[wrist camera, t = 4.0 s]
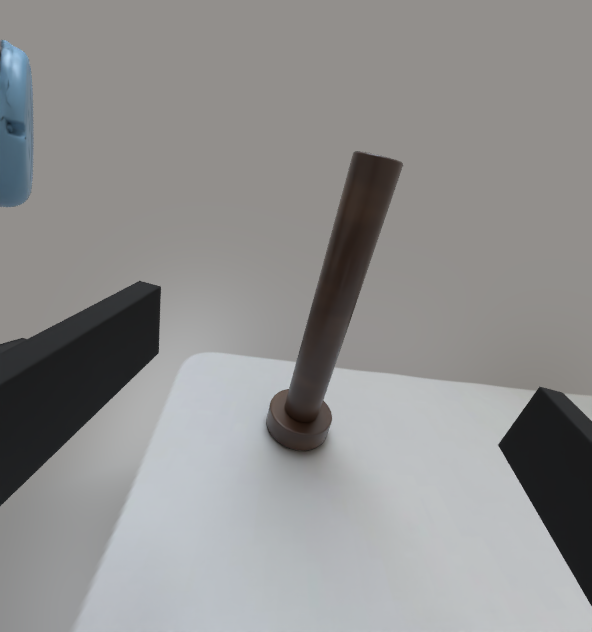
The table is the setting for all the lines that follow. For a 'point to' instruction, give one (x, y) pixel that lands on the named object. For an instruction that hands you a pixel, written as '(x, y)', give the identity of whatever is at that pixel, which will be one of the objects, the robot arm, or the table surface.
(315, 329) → the muddler
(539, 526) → the table surface
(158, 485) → the table surface
